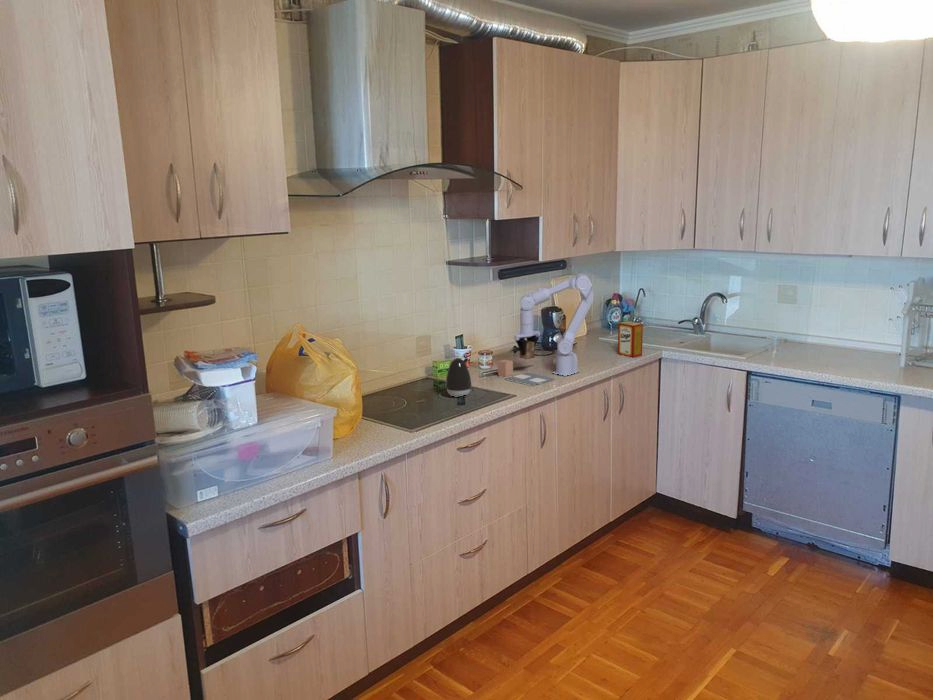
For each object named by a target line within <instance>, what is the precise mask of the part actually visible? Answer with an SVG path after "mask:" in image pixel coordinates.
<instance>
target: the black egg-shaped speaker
mask: <svg viewBox="0 0 933 700" xmlns="http://www.w3.org/2000/svg"><path fill="white" fill-rule="evenodd" d="M468 361H469V359H468V358H464V359H461V358H454V359H453V360H452V361H451V362H450V364H449V366H448V370H447V374H446V377H445V379H446V380H445V389H446V391H447V393H448V394H449V396H451V397H452V396H454V397H453V398H456V397H458V396H463V395H466V396H467V395H469V393H470V392H471V388H472V380H471V374H470V372H469V368H468V366H467V364H466V363H467V362H468Z"/></svg>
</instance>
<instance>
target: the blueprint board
mask: <svg viewBox="0 0 933 700" xmlns="http://www.w3.org/2000/svg"><path fill="white" fill-rule="evenodd" d="M505 379H509V380H513V381H518V382H522V383H526V384H530V385H535V384H539V383H543V382H546V381H549V380H553V379H555V380H556V378H554V377H551V376H550V377H549V376H546V375H540V374H536V373H533V372H523V373H519V374H516V375H513V376H512V377H508V378H504V380H505ZM553 381H554V380H553ZM549 382H550V381H549ZM546 383H547V382H546ZM543 384H544V383H543ZM539 385H540V384H539Z"/></svg>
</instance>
